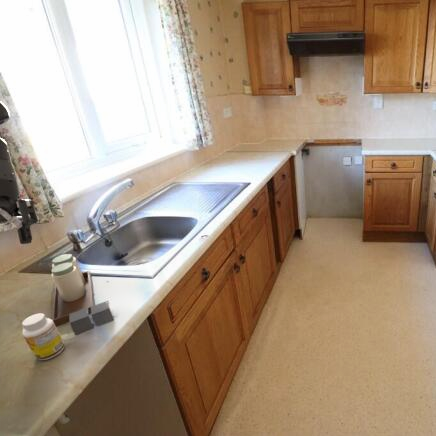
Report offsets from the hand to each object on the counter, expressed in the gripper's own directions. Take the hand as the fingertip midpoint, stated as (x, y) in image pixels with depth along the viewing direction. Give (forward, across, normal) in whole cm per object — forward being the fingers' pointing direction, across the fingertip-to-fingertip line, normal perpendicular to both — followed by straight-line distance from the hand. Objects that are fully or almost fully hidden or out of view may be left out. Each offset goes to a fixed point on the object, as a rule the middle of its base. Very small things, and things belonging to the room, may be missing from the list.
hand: (9, 247), depth 77 cm
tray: (+17, -2, +17) cm, 24 cm away
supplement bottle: (+27, +5, 0) cm, 27 cm away
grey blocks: (+24, +10, +8) cm, 27 cm away
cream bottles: (+15, -5, +21) cm, 26 cm away
